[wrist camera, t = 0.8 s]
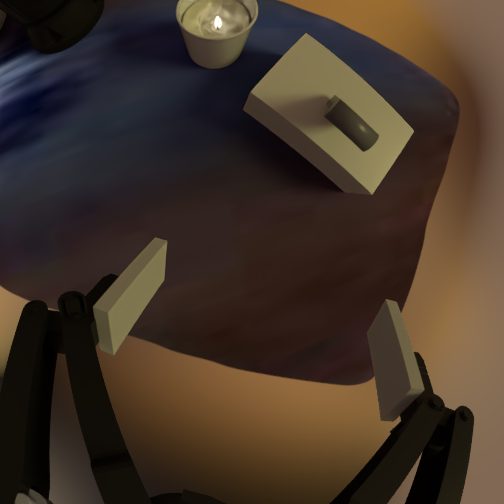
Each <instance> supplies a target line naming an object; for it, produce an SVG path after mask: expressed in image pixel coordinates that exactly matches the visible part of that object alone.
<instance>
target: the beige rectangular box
mask: <svg viewBox="0 0 504 504" xmlns="http://www.w3.org/2000/svg"><path fill="white" fill-rule="evenodd" d="M334 95H336V96H337V97H338V98H340V99H341V100H342V101H343V102H345V103H346V104H347V105H348V106H349V107H350V108H351V109H352V110H353V111H354V112H356V113H357V114H358V115H359V116H360V117H361V118H362V119H363V120H364V121H365V122H366V123H367V124H368V125H369V126H370V127H371V128H372V129H373V130H374V131H375V132H376V133H377V134H378V135H379V138H378V140H377V142H376V143H375V144H374V145H373V146H372V147H371V148H370V149H369V150H367V151H365V152H363V151H361V150H360V149H359V148H358V147H357V146H356V145H355V144H354V143H353V142H352V141H351V140H350V139H349V138H348V137H346V136H345V135H344V134H343V133H342V132H341V131H340V130H339V129H338V128H336V127H335V126H334V125H333V124H332V123H331V122H330V121H328V120H327V119H326V118H325V117H324V115H325V113H326V112H327V111H328V110H329V109H328V106H327V103H328V101H329V100H330V99H331V98H332V97H333V96H334ZM243 110H244V111H245V112H246V113H248V114H249V115H251V116H252V117H253V118H255V119H256V120H257V121H259V122H260V123H261V124H263V125H264V126H265V127H267V128H268V129H269V130H270V131H272V132H273V133H274V134H276V135H277V136H278V137H279V138H281V139H282V140H283V141H285V142H286V143H287V144H288V145H290V146H291V147H292V148H293V149H294V150H296V151H297V152H298V153H299V154H301V155H302V156H303V157H304V158H305V159H307V160H308V161H309V162H310V163H311V164H313V165H314V166H315V167H316V168H317V169H319V170H320V171H321V172H322V173H323V174H324V175H325V176H327V177H328V178H329V179H330V180H331V181H332V182H333V183H335V184H336V185H337V186H338V187H339V188H340V189H341V190H342V191H344V192H348V193H360V194H373V193H374V191H375V190H376V188H377V187H378V185H379V184H380V182H381V181H382V179H383V178H384V176H385V175H386V173H387V172H388V170H389V169H390V168H391V166H392V165H393V163H394V161H395V160H396V158H397V157H398V155H399V154H400V152H401V151H402V149H403V148H404V146H405V145H406V143H407V142H408V140H409V138H410V137H411V135H412V134H413V132H414V131H413V129H412V128H411V127H410V126H409V125H408V124H407V123H406V122H405V121H404V120H403V118H402V117H401V116H400V115H399V114H398V113H397V112H396V111H395V110H394V109H393V108H392V107H391V106H390V105H389V104H388V103H387V102H386V101H385V100H384V99H383V98H382V97H381V96H380V95H379V94H378V93H377V92H376V91H375V90H374V89H373V88H372V87H371V86H370V85H369V84H367V83H366V82H365V81H364V80H363V79H362V78H361V77H360V76H359V75H358V74H356V73H355V72H354V71H353V70H352V69H351V68H350V67H348V66H347V65H346V64H345V63H344V62H342V61H341V60H340V59H339V58H338V57H336V56H335V55H334V54H333V53H332V52H330V51H329V50H328V49H326V48H325V47H324V46H323V45H321V44H320V43H319V42H317V41H316V40H315V39H313V38H312V37H311V36H309V35H308V34H307V33H306V34H305V35H304V36H303V37H302V38H301V39H300V40H299V41H298V42H297V43H296V44H295V45H294V46H293V47H292V48H291V49H290V50H289V51H288V52H287V53H286V54H285V55H284V56H283V57H282V58H281V59H280V60H279V61H278V62H277V63H276V64H275V65H274V66H273V68H272V69H271V70H270V71H269V72H268V73H267V74H266V75H265V76H264V77H263V78H262V80H261V81H260V82H259V83H258V84H257V85H256V86H255V87H254V89H253V90H252V91H251V92H250V94H249V96H248V99H247V101H246V103H245V106H244V108H243Z"/></svg>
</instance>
